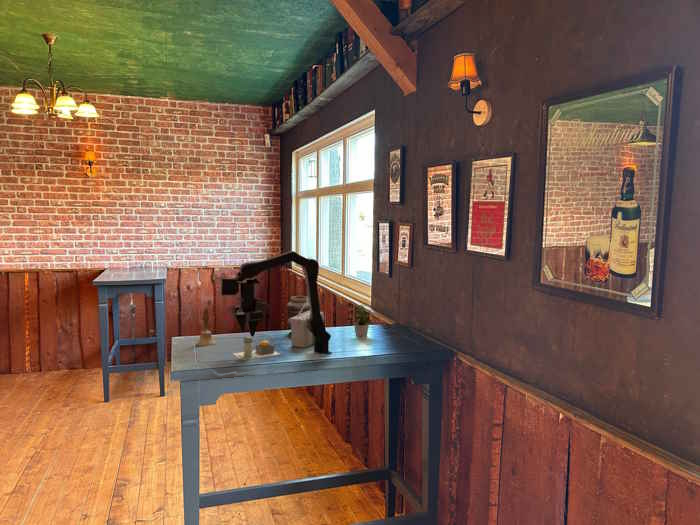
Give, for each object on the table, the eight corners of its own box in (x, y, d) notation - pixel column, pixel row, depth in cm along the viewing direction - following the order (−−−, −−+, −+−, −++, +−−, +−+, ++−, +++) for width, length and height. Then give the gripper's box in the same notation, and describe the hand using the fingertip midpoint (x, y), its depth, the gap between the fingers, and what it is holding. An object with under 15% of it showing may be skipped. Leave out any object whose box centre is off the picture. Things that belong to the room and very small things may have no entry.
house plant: (339, 334, 251) (340, 301, 250) (365, 332, 257) (365, 299, 256) (352, 341, 238) (352, 305, 237) (378, 338, 244) (379, 304, 243)
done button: (270, 346, 213) (270, 342, 213) (262, 348, 211) (262, 343, 211) (266, 344, 216) (266, 340, 216) (258, 346, 214) (258, 341, 214)
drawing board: (280, 356, 212) (280, 353, 211) (243, 361, 202) (243, 359, 202) (268, 350, 220) (268, 347, 220) (232, 355, 211) (232, 353, 211)
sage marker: (253, 356, 207) (253, 337, 206) (245, 357, 205) (245, 338, 204) (250, 354, 210) (250, 336, 209) (242, 355, 208) (242, 337, 207)
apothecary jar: (283, 335, 248) (283, 298, 246) (292, 330, 259) (292, 294, 258) (307, 337, 245) (307, 299, 243) (315, 331, 256) (315, 295, 255)
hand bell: (208, 340, 235) (207, 306, 234) (219, 343, 230) (219, 308, 229) (192, 344, 229) (191, 308, 228) (203, 347, 224) (203, 310, 222)
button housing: (274, 352, 213) (274, 345, 213) (261, 354, 210) (261, 347, 210) (268, 349, 218) (268, 342, 218) (255, 351, 215) (255, 344, 214)
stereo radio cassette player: (305, 350, 221) (306, 303, 219) (288, 348, 224) (288, 302, 222) (324, 339, 241) (325, 296, 239) (308, 338, 244) (308, 295, 242)
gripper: (276, 296, 202) (276, 336, 203) (256, 290, 217) (256, 327, 219) (250, 298, 196) (250, 339, 197) (231, 292, 211) (231, 330, 212)
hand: (247, 333), depth 206 cm, fingers open, 9 cm apart
